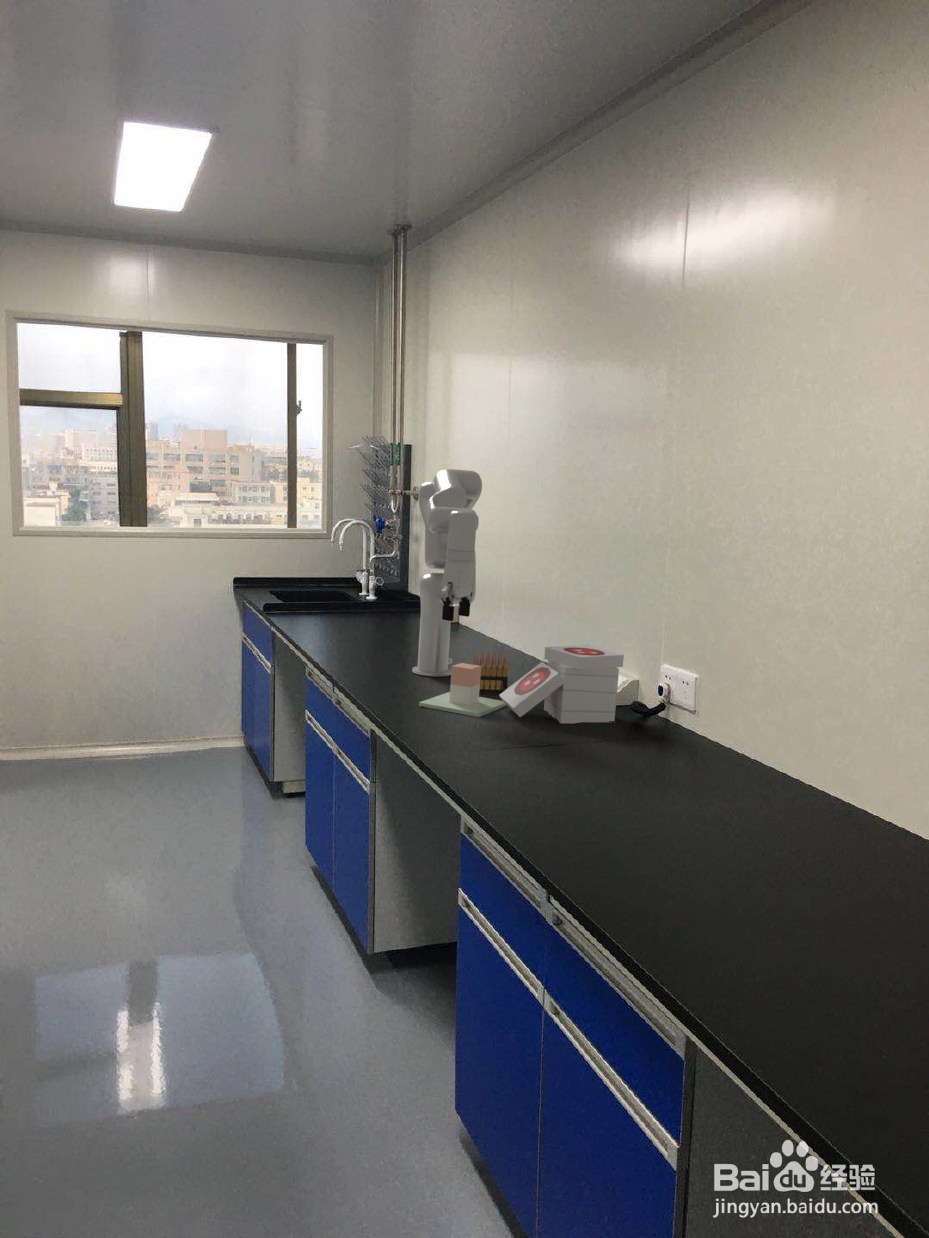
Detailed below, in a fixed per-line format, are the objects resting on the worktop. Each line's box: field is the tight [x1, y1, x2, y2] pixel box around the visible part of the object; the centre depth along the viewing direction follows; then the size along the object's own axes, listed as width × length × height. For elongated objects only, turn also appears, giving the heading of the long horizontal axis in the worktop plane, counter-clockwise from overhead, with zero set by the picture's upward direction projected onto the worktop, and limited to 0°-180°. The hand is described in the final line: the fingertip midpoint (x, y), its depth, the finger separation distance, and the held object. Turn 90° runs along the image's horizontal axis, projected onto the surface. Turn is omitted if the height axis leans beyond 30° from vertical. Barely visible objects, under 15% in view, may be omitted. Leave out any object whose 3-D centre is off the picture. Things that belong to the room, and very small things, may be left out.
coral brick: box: [450, 662, 481, 687], centre depth 268 cm, size 6×6×5 cm
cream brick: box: [449, 683, 480, 706], centre depth 268 cm, size 6×6×5 cm
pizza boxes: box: [498, 644, 625, 724], centre depth 262 cm, size 19×30×18 cm, turn 103°
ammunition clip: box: [473, 651, 509, 694], centre depth 287 cm, size 11×2×12 cm, turn 101°
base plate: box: [418, 691, 508, 718], centre depth 269 cm, size 18×18×1 cm
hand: (455, 618), depth 271 cm, fingers open, 9 cm apart
